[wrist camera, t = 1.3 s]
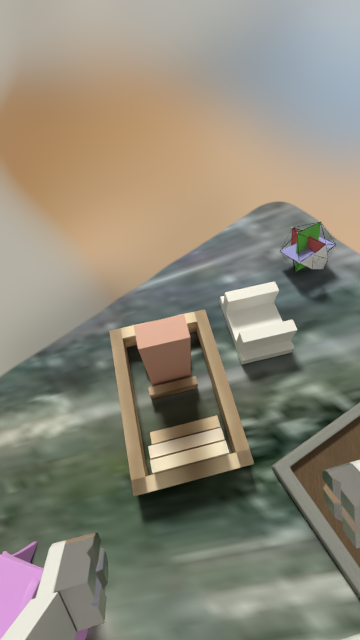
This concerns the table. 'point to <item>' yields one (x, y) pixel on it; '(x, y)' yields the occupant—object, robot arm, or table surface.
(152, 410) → the table surface
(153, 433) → the offcut rack
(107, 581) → the robot arm
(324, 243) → the geometric puzzle
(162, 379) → the salmon pink brick
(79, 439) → the table surface
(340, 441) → the framed brown board
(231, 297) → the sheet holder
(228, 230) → the table surface
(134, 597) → the table surface
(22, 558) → the toy chair
